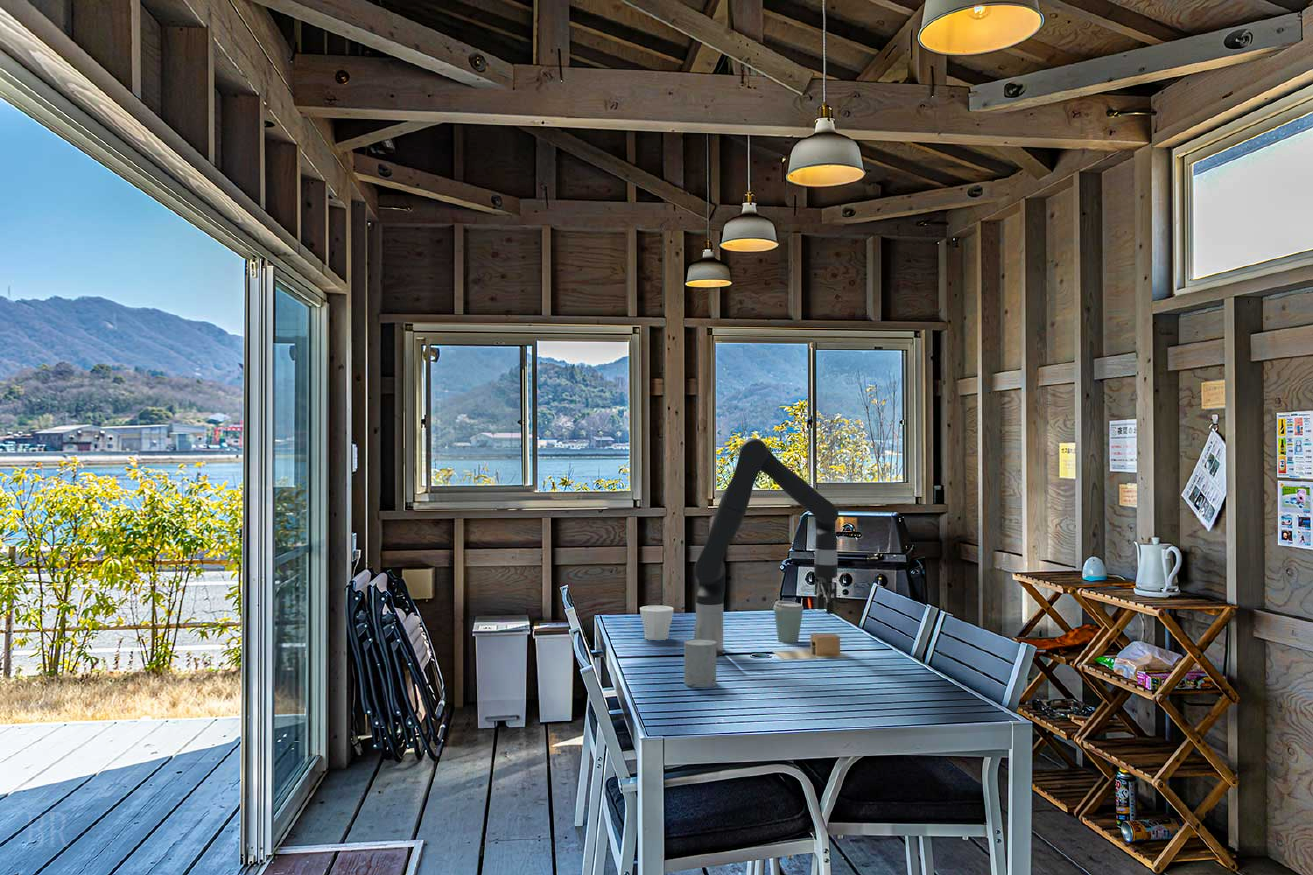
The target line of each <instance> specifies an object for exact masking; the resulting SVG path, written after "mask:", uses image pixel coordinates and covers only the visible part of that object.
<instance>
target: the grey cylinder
mask: <svg viewBox="0 0 1313 875" xmlns="http://www.w3.org/2000/svg"><path fill="white" fill-rule="evenodd" d="M683 642H684V658H683V659H684V660H683V662H684V665H683V666H684V668H683V669H684V670H683V673H684V677H683V678H684V680H683V681H684V682H683V684H684V683H685V684H686V685H689V686H692V687H691V688H695V687H707V688H712V687H711V686H713V687H715V686H716V685H717V656H716V643H717V642H716V641H714V640H710V639H694V638H690V639H686V640H684V641H683ZM685 684H684V685H685ZM686 685H685V686H686ZM714 685H715V686H714ZM689 686H688V687H689Z"/></svg>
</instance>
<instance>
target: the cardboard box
mask: <svg viewBox="0 0 1313 875" xmlns="http://www.w3.org/2000/svg"><path fill="white" fill-rule="evenodd" d="M812 646H815V655H816V656H832V655H840V653H841V636H840V635H837V634H835V633H832V632H831V633H828V632H827V633H810V650H811V653H812Z"/></svg>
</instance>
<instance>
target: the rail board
mask: <svg viewBox="0 0 1313 875" xmlns="http://www.w3.org/2000/svg"><path fill="white" fill-rule="evenodd" d="M771 652H772V653H773V654H775V656H778V657H779V658H780V659H782V660H802V659H803V660H806V659H807V660H808V659H809V660H810V659H811V660H812V659H833V658H836V659H837V658H848V656H847V655H846V654H843V653H841V652H840V655H832V656H816V655H815V646H812V653H811V649H807V650H806V649H802V650H801V649H799V650H778V651H777V650H776V651H775V650H774V651H771Z"/></svg>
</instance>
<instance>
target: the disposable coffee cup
mask: <svg viewBox="0 0 1313 875" xmlns="http://www.w3.org/2000/svg"><path fill="white" fill-rule="evenodd" d="M773 612H774V619H775V620H774V621H775V627H776V633H777V642H778V643H786V644H787V643H793V644H794V643H798V642H799V640H800V639H799V638H800V631H801V624H802V618H803V614H804V606H803V605H802V604H801V603H798V602H794V601H789V600H787V601H786V600H775V602H774V605H773Z"/></svg>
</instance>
